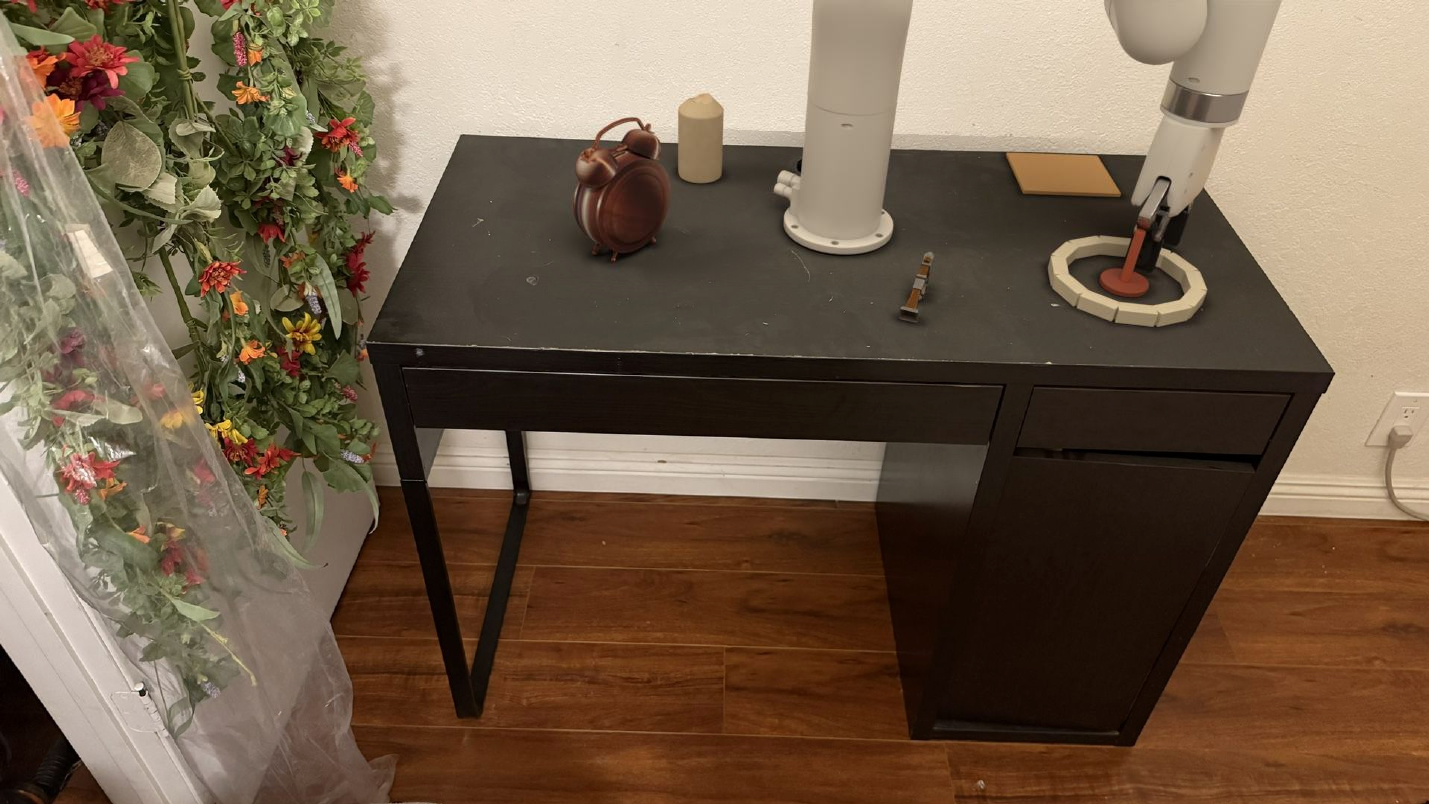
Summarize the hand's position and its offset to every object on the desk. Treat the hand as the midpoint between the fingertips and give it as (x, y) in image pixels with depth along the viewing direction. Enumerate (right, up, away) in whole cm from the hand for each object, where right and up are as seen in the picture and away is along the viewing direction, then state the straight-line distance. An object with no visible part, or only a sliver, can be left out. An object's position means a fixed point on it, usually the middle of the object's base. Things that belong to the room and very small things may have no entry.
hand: (1151, 253), depth 111 cm
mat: (-4, +12, +17) cm, 21 cm away
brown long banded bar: (-28, -7, -8) cm, 30 cm away
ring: (-5, -4, -4) cm, 7 cm away
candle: (-51, +12, +15) cm, 54 cm away
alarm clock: (-59, 0, 0) cm, 59 cm away
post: (-5, -4, -4) cm, 7 cm away
